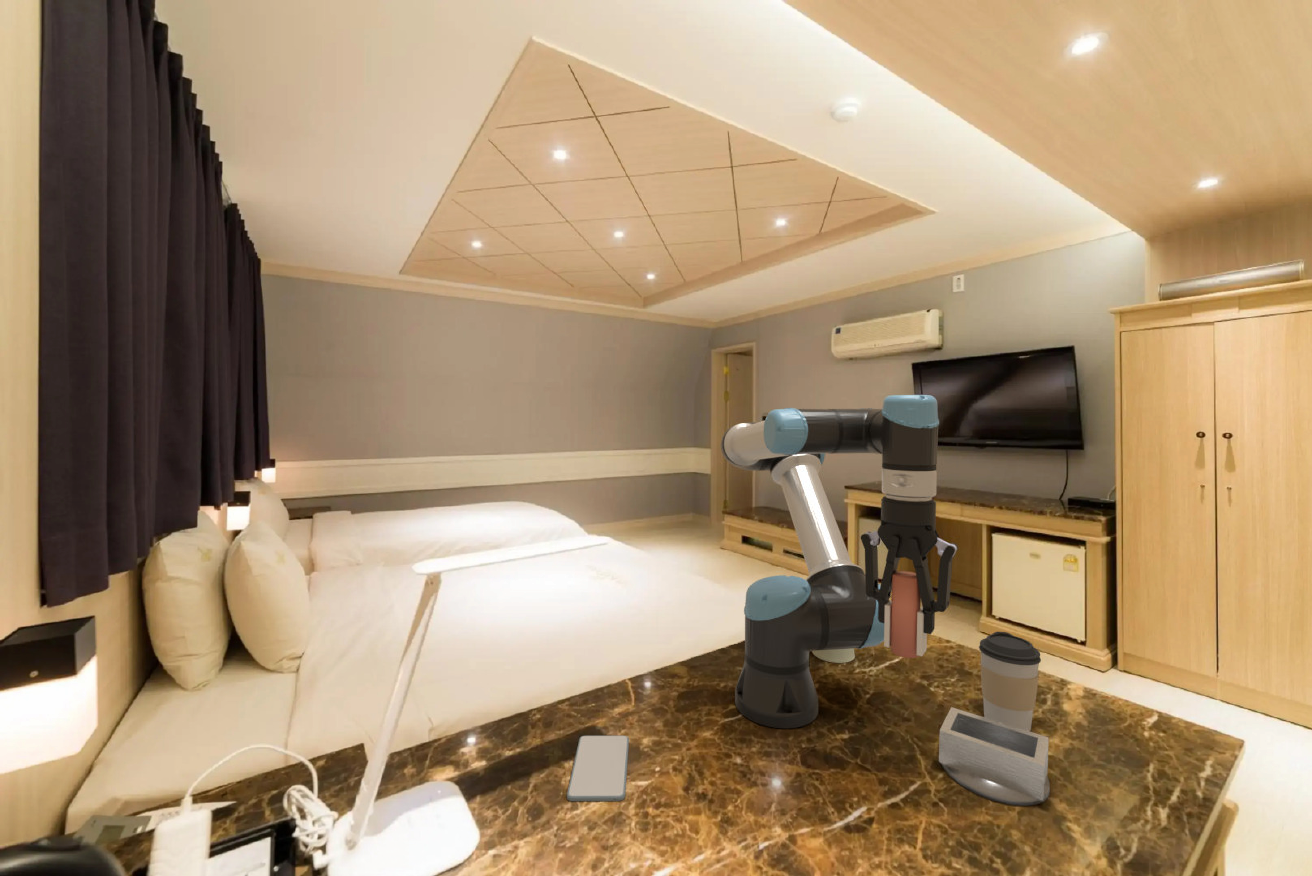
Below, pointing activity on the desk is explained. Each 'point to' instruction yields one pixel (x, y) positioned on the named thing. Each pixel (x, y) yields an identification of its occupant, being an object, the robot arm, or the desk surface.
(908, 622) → the pin
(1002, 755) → the rosette bracket
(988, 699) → the coffee cup
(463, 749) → the desk surface
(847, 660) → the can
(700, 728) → the desk surface
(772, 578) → the robot arm
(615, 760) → the smartphone
